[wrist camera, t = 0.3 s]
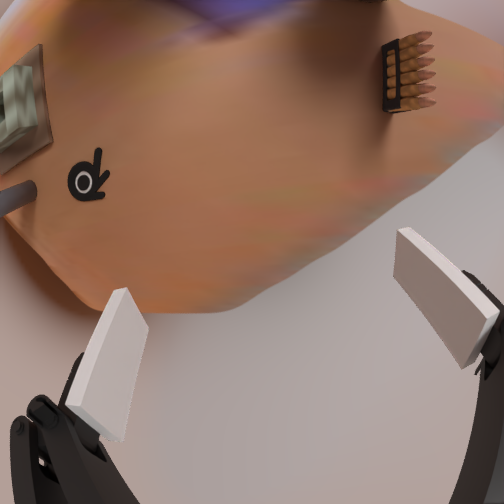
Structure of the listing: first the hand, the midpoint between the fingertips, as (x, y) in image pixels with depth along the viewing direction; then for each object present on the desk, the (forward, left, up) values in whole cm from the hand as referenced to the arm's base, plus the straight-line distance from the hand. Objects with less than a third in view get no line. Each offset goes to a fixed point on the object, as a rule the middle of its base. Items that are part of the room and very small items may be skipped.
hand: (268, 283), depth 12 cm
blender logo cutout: (-9, -23, -27) cm, 36 cm away
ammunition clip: (-13, +21, -27) cm, 36 cm away
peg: (-10, -40, -27) cm, 49 cm away
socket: (-26, -39, -26) cm, 53 cm away
